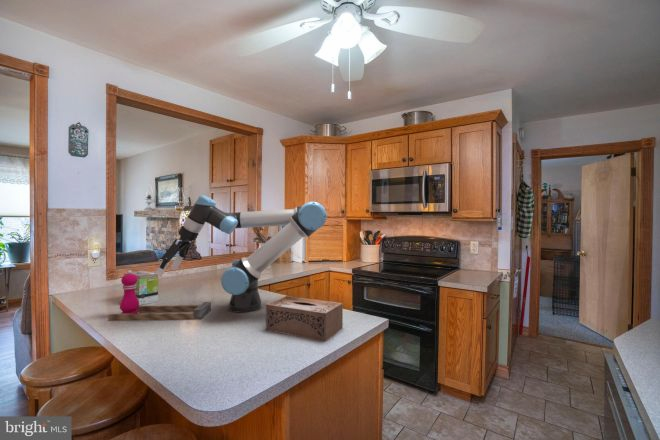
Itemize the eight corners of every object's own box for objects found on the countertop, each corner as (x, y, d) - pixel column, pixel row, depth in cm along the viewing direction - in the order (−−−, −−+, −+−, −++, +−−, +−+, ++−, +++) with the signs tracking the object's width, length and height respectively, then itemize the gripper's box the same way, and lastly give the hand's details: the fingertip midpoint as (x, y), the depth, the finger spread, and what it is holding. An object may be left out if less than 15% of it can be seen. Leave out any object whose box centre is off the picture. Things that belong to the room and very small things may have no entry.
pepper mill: (125, 313, 142) (125, 269, 141) (142, 313, 142) (142, 268, 142) (116, 318, 134) (115, 271, 134) (133, 318, 135) (133, 271, 135)
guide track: (211, 310, 146) (211, 301, 146) (200, 319, 133) (200, 310, 133) (126, 311, 145) (126, 302, 144) (108, 320, 132) (108, 311, 132)
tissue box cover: (265, 330, 121) (265, 304, 121) (287, 319, 134) (287, 295, 134) (325, 342, 110) (325, 313, 110) (342, 328, 123) (342, 303, 123)
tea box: (159, 301, 162) (159, 272, 162) (138, 306, 154) (138, 275, 153) (143, 297, 170) (143, 270, 170) (123, 301, 162) (123, 272, 162)
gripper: (194, 223, 148) (171, 263, 148) (169, 225, 123) (142, 273, 123) (208, 231, 149) (185, 271, 148) (186, 235, 124) (159, 282, 123)
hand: (166, 272), depth 136 cm, fingers open, 13 cm apart
